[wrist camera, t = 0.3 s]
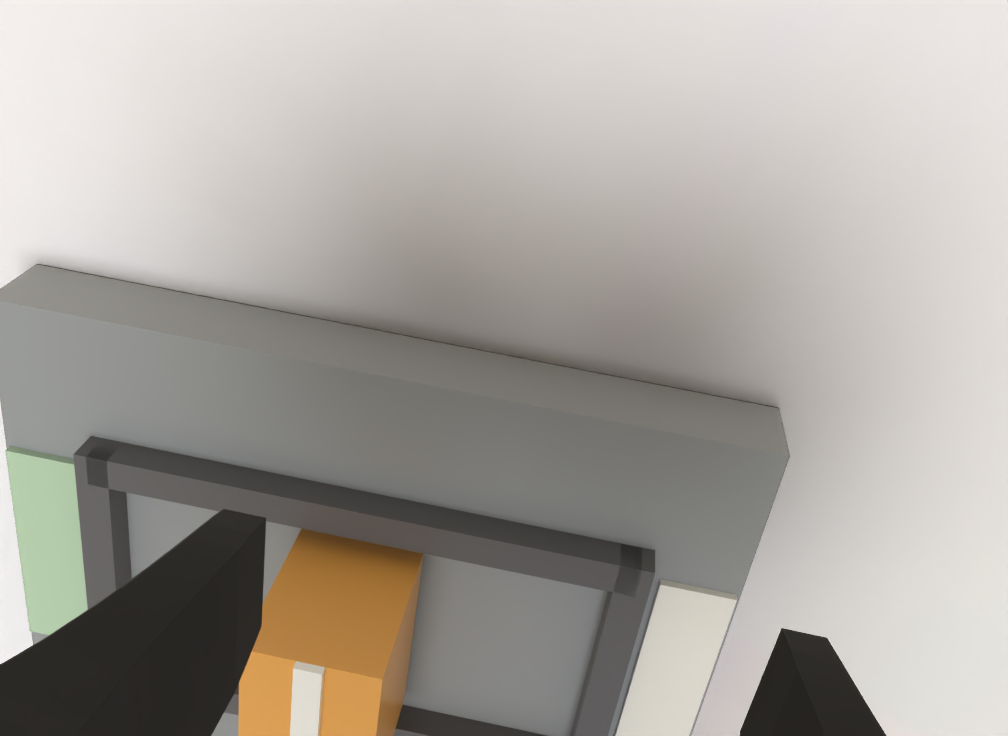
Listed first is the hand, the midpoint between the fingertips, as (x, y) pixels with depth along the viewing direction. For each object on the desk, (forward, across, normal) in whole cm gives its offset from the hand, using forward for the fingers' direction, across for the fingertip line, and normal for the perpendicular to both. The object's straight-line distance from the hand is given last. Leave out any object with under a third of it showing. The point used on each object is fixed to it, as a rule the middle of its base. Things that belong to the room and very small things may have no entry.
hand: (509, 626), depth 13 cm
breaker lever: (+8, +4, +8) cm, 12 cm away
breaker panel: (+10, +4, +8) cm, 13 cm away
